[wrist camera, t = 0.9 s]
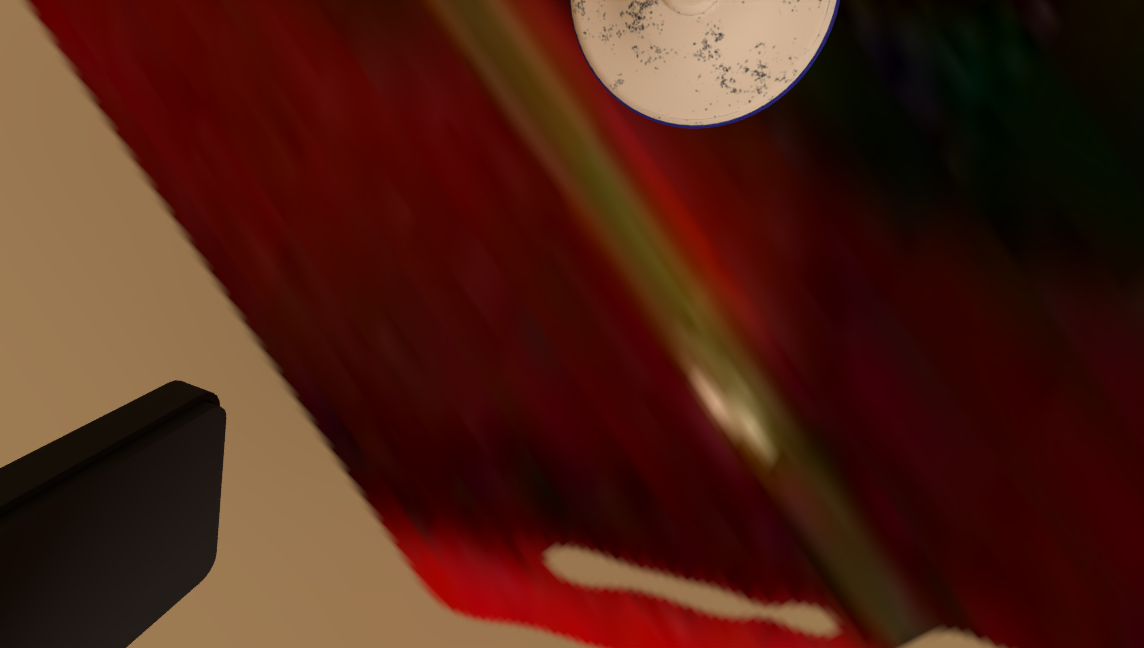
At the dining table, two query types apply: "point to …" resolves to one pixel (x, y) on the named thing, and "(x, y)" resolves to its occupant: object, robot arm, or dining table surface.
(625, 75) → the teacup with lid
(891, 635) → the dining table surface
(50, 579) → the robot arm
